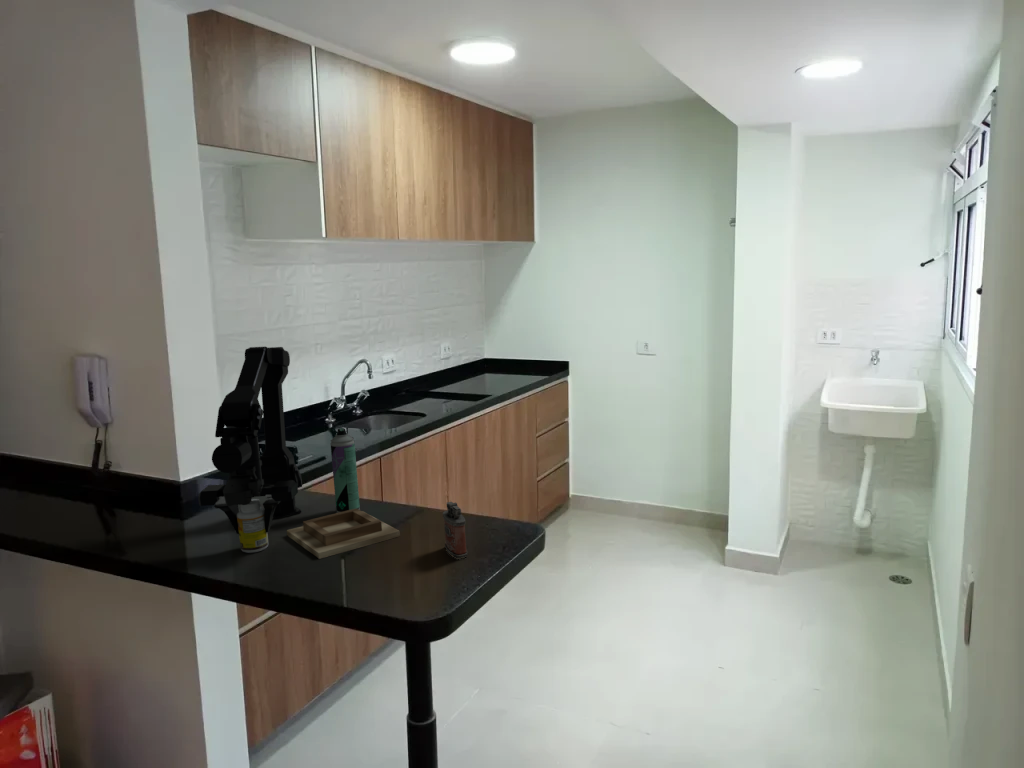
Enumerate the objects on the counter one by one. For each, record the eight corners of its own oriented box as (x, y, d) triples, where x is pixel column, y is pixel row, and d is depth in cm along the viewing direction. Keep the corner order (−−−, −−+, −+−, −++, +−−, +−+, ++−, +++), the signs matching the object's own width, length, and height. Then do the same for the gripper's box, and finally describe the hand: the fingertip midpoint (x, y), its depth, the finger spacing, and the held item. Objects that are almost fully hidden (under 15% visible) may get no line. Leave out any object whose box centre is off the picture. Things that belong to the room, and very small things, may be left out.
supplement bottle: (245, 544, 158) (240, 498, 157) (272, 543, 158) (267, 496, 157) (236, 554, 153) (231, 506, 151) (264, 553, 153) (259, 505, 151)
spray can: (350, 506, 181) (343, 425, 178) (364, 509, 178) (358, 427, 175) (331, 512, 177) (324, 430, 174) (346, 516, 174) (339, 432, 170)
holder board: (287, 535, 163) (285, 521, 162) (363, 516, 173) (362, 502, 173) (319, 558, 148) (317, 543, 148) (400, 536, 159) (398, 521, 158)
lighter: (441, 547, 151) (438, 499, 150) (457, 544, 153) (454, 497, 151) (454, 560, 144) (451, 511, 142) (471, 557, 145) (468, 508, 144)
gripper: (183, 473, 144) (192, 549, 147) (280, 467, 145) (288, 544, 147) (204, 458, 155) (212, 530, 158) (294, 453, 156) (301, 524, 158)
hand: (253, 532), depth 155 cm, fingers closed on supplement bottle, 5 cm apart
